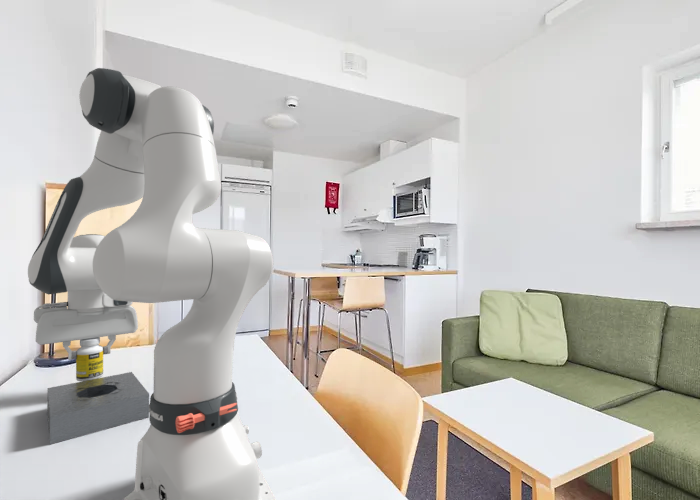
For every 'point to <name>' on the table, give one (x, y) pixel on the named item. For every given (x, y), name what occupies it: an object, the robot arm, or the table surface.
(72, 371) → the table surface
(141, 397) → the block
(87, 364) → the supplement bottle
